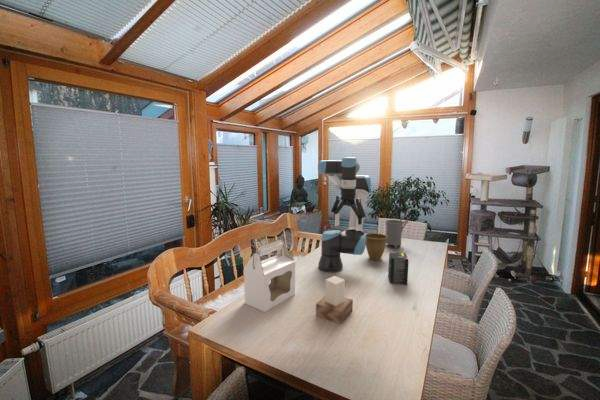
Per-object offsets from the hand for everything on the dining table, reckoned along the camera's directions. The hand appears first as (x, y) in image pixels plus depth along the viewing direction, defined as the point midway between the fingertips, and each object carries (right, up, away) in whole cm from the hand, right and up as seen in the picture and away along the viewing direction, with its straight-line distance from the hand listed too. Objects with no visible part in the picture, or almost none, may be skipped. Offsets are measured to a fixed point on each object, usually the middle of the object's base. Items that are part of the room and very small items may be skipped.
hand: (347, 227), depth 151 cm
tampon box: (+30, -31, +11) cm, 44 cm away
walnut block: (-10, -36, -24) cm, 44 cm away
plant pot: (+26, -26, +46) cm, 59 cm away
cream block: (-10, -30, -25) cm, 40 cm away
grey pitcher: (+49, -22, +74) cm, 92 cm away
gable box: (-39, -34, -11) cm, 53 cm away
